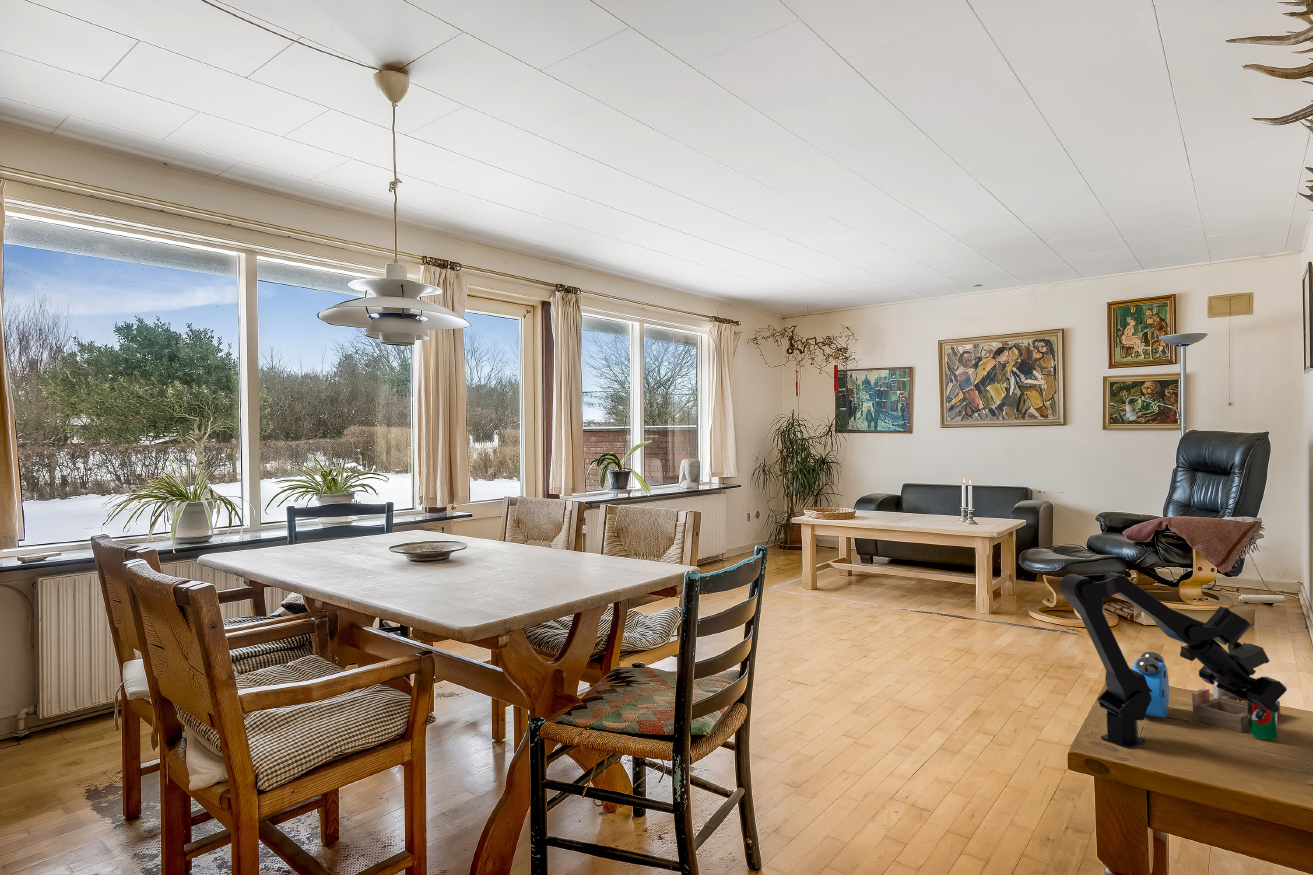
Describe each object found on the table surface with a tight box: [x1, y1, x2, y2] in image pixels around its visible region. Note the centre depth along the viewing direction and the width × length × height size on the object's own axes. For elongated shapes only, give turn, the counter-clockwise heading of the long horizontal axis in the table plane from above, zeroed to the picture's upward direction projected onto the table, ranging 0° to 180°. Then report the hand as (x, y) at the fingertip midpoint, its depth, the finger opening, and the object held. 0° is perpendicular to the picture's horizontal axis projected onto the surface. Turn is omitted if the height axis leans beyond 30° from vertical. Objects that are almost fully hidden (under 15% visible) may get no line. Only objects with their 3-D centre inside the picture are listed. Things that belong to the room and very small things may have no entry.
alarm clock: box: [1132, 650, 1170, 719], centre depth 174 cm, size 13×6×15 cm, turn 137°
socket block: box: [1191, 682, 1281, 733], centre depth 171 cm, size 19×10×6 cm, turn 117°
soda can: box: [1246, 688, 1279, 742], centre depth 159 cm, size 5×5×12 cm
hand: (1267, 706), depth 159 cm, fingers closed on soda can, 5 cm apart
